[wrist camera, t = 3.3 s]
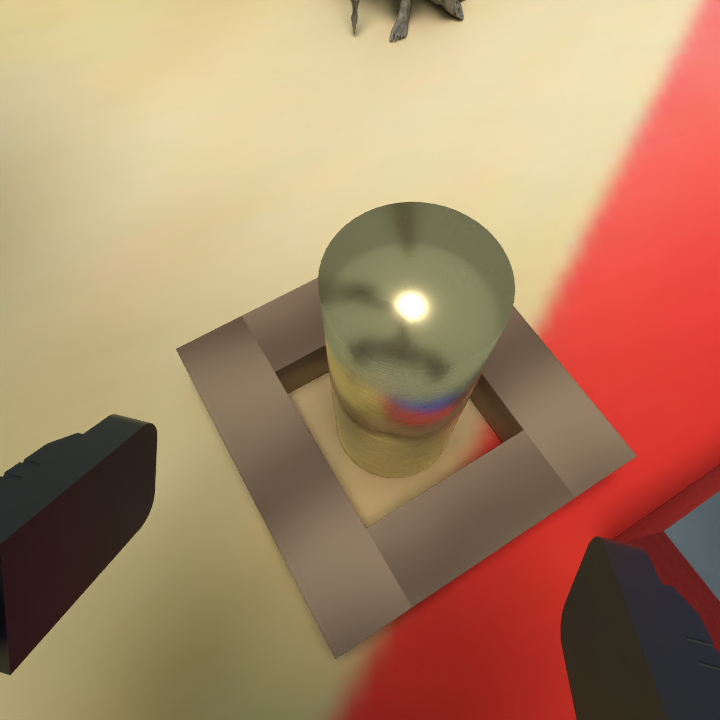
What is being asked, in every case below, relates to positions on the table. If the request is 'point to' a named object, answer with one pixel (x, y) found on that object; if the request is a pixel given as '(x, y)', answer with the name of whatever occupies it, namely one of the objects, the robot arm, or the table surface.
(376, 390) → the brass peg
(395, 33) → the wizard figurine
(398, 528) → the walnut stand
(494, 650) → the table surface
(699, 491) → the charcoal block
